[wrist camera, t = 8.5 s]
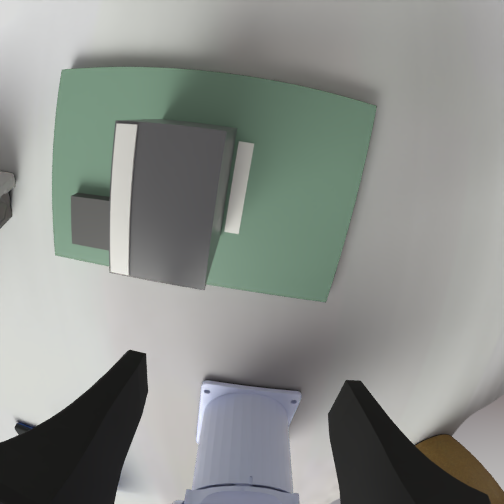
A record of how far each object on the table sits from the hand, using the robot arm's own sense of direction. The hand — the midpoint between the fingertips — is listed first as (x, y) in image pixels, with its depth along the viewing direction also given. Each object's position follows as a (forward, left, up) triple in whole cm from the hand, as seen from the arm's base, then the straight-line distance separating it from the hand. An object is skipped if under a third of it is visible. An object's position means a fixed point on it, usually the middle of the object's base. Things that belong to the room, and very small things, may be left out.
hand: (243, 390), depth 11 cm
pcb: (+5, +4, -10) cm, 12 cm away
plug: (+5, +4, -9) cm, 11 cm away
